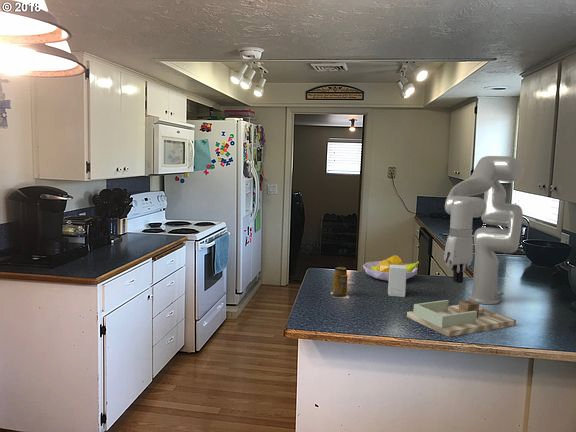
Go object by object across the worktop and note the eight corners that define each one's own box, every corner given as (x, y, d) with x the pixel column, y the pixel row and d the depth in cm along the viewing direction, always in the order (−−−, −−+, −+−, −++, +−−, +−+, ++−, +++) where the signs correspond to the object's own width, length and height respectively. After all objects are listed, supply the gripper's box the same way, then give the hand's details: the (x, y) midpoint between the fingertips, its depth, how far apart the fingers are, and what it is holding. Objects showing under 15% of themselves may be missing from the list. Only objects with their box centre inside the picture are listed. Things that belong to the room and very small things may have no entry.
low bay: (446, 310, 188) (446, 299, 187) (476, 322, 174) (477, 311, 174) (413, 314, 181) (413, 304, 181) (441, 327, 168) (442, 316, 167)
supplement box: (405, 297, 211) (407, 268, 210) (387, 295, 213) (389, 267, 211) (404, 292, 218) (406, 265, 217) (387, 291, 220) (389, 263, 218)
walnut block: (469, 312, 185) (470, 300, 184) (478, 317, 180) (479, 304, 180) (458, 314, 183) (459, 301, 183) (467, 318, 179) (468, 305, 178)
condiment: (346, 293, 215) (347, 266, 214) (349, 298, 207) (350, 270, 206) (330, 292, 215) (331, 266, 214) (332, 298, 207) (333, 270, 205)
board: (469, 308, 198) (470, 303, 198) (515, 325, 178) (516, 320, 178) (406, 317, 184) (407, 311, 184) (448, 337, 165) (449, 331, 164)
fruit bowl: (351, 275, 249) (352, 253, 247) (392, 270, 262) (393, 249, 261) (388, 288, 225) (389, 264, 223) (431, 282, 238) (432, 259, 236)
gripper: (468, 229, 183) (465, 277, 185) (437, 232, 176) (434, 281, 179) (483, 233, 176) (480, 282, 179) (452, 236, 170) (449, 287, 172)
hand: (457, 281), depth 179 cm, fingers closed
